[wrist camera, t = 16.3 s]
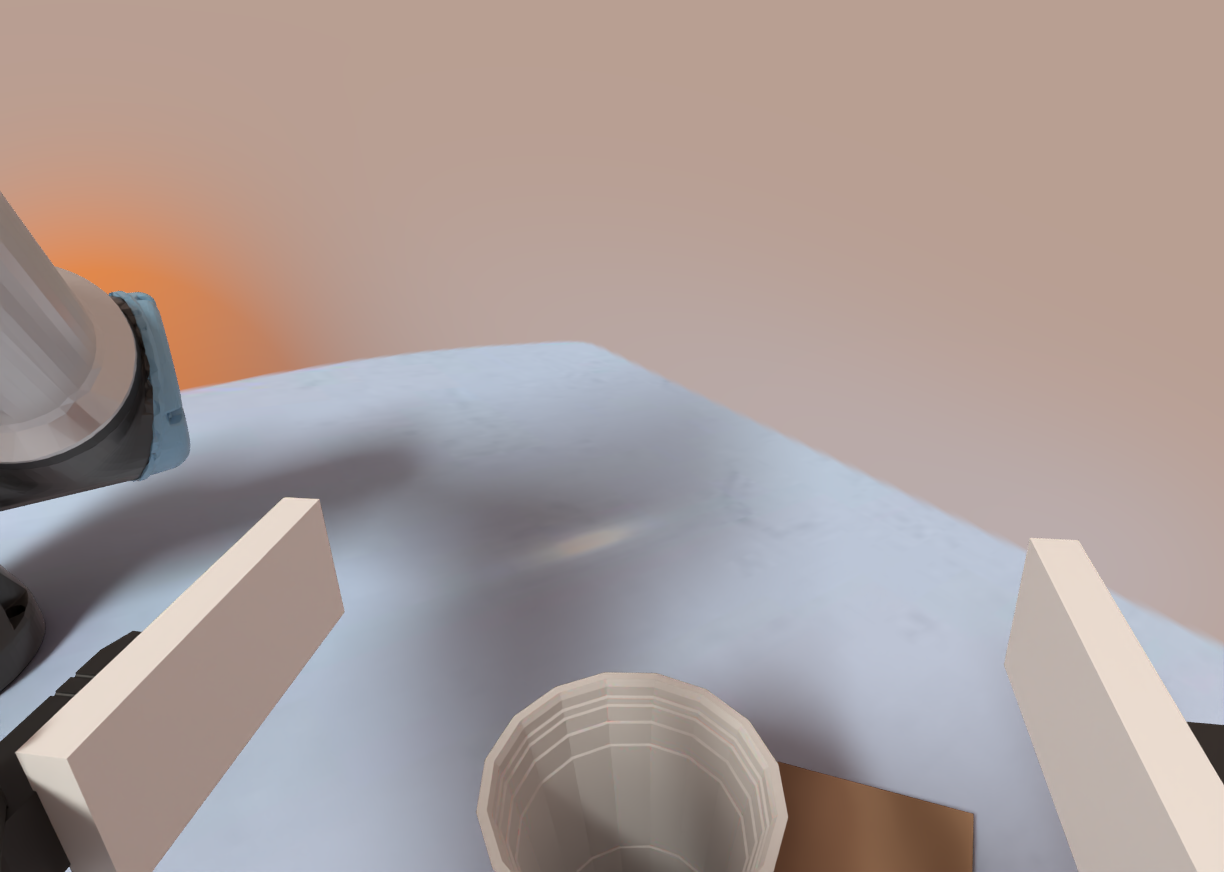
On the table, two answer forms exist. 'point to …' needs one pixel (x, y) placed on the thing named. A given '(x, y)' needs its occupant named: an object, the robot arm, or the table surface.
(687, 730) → the plastic cup
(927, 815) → the walnut board
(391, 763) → the table surface
